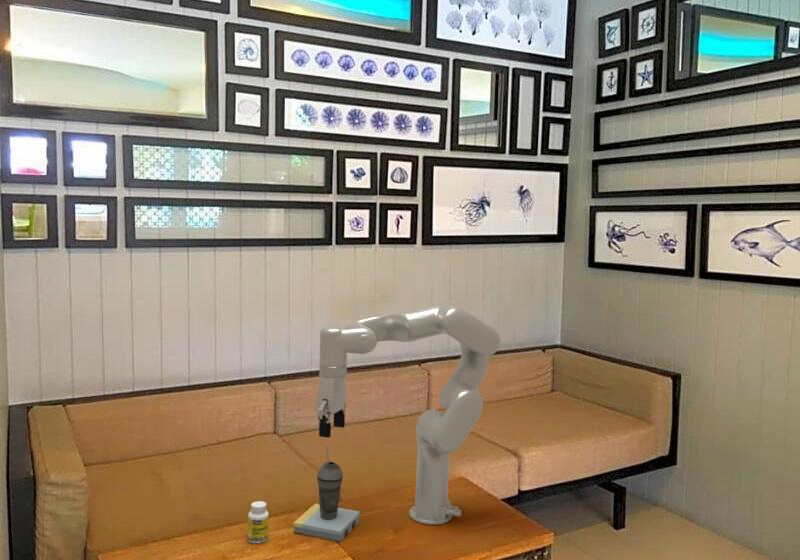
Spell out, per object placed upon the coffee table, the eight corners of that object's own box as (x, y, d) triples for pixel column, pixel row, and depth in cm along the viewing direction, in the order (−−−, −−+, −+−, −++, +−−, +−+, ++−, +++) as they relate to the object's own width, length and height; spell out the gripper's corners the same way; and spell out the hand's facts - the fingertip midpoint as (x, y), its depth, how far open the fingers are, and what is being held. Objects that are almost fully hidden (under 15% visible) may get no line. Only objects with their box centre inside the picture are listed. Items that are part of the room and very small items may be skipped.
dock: (359, 521, 192) (359, 511, 192) (340, 542, 179) (340, 531, 179) (315, 513, 197) (315, 503, 197) (293, 533, 183) (293, 522, 183)
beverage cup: (337, 523, 184) (339, 452, 182) (311, 520, 185) (314, 449, 184) (344, 513, 191) (347, 444, 189) (320, 509, 192) (322, 441, 191)
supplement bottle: (250, 545, 175) (251, 509, 175) (245, 536, 180) (245, 501, 179) (270, 542, 178) (271, 506, 177) (264, 533, 183) (265, 498, 182)
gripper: (333, 364, 194) (332, 421, 195) (307, 376, 178) (306, 439, 179) (357, 366, 192) (356, 424, 193) (332, 379, 175) (331, 442, 177)
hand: (332, 431), depth 186 cm, fingers open, 9 cm apart
